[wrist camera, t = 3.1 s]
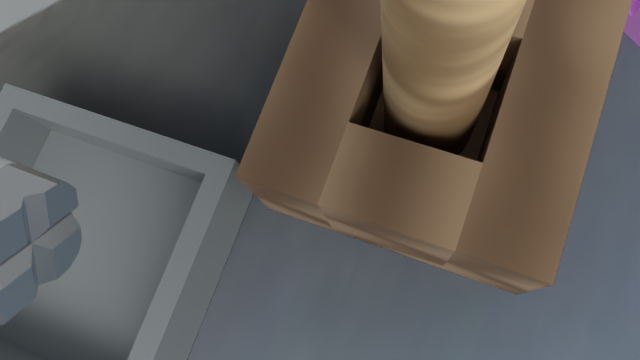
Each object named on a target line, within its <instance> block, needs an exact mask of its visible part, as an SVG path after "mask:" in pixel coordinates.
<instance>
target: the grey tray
mask: <svg viewBox="0 0 640 360" xmlns="http://www.w3.org/2000/svg"><path fill="white" fill-rule="evenodd" d="M0 157H2V158H5V159H7V160H10V161H12V162H15V163H17V164H18V163H19V164H22V165H24V166H27V167H29V168H32V169H35V170H37V171H40V172H42V173H45V174H47V175H50V176H52V177H55V178H57V179H60V180H62V181H65V182H67V183H69V184H70V185H72V186H73V187H75V188H76V191H77V198H78V204H79V206H78V207H77V208H76V209H75V210H74V211H73V212H72V214H73V216H74V217H75V219H76V220H77V222H78V223H79V225H80V227H81V235H82V241H81V246H80V250H79V253H78V255H77V257H76V258H75V260H74V262H73V263H72V265H71V267H70V268H69V269H68V270H67V271H66V272H65V273H64V274H63V275H61V276H60V277H59V278H58V279H57V280H54V281H50V282H47V283H44V284H40V285H39V286H38V291H37V296H36V298H35V299H34V300H32V301H31V302H30V303H29V304H28V305H27V306H25V307H24V308H23V309H22V310H21V311H20V312H18V313H17V314H16V315H15V316H14V317H13V318H11V319H10V320H9V321H8V322H7V323H5V324H4V325H1V324H0V360H187V359H188V356H189V354H190V351H191V349H192V346H193V344H194V341H195V339H196V336H197V334H198V331H199V329H200V326H201V324H202V321H203V319H204V316H205V314H206V311H207V309H208V306H209V304H210V301H211V299H212V296H213V294H214V291H215V289H216V286H217V284H218V281H219V279H220V276H221V274H222V271H223V269H224V266H225V264H226V261H227V259H228V256H229V254H230V251H231V249H232V246H233V244H234V241H235V239H236V236H237V234H238V231H239V229H240V226H241V224H242V221H243V219H244V216H245V214H246V211H247V209H248V206H249V204H250V201H251V199H252V196H253V193H252V192H251V191H250V190H249V189H248V188H247V187H246V186H245V185H244V184H242V183H241V182H240V181H239V180H238V179H237V178H236V177H235V175H236V173H237V170H238V168H239V165H240V164H239V163H238V162H237V161H236V160H235V159H232V158H229V157H226V156H223V155H220V154H217V153H214V152H211V151H208V150H205V149H202V148H199V147H196V146H193V145H190V144H187V143H184V142H181V141H178V140H175V139H172V138H169V137H166V136H163V135H160V134H157V133H154V132H151V131H148V130H145V129H142V128H139V127H136V126H133V125H130V124H127V123H124V122H121V121H118V120H115V119H112V118H109V117H106V116H103V115H100V114H97V113H94V112H91V111H88V110H85V109H82V108H79V107H76V106H73V105H70V104H67V103H64V102H61V101H58V100H55V99H52V98H49V97H46V96H43V95H40V94H37V93H34V92H31V91H28V90H25V89H22V88H19V87H16V86H13V85H10V84H7V83H5V84H4V86H3V88H2V90H1V92H0Z"/></svg>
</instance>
